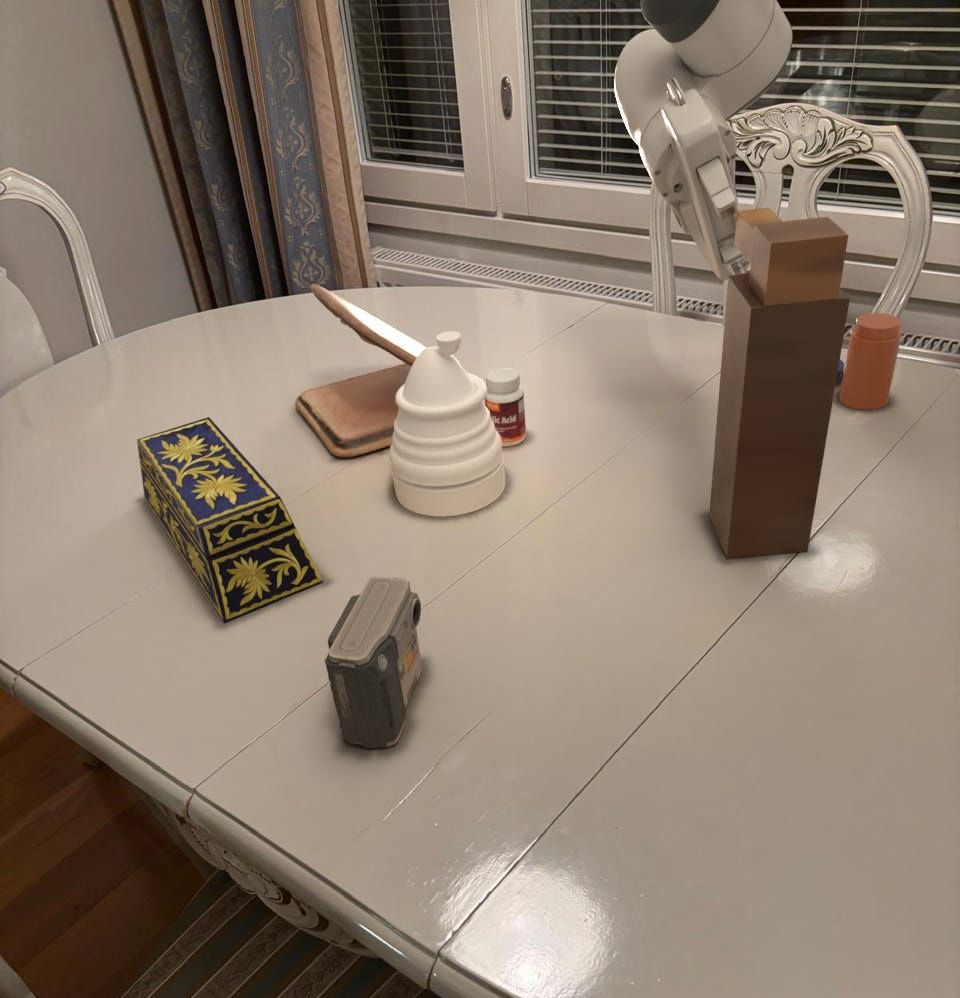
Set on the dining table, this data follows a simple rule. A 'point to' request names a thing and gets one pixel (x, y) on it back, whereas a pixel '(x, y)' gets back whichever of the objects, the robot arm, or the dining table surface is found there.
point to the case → (359, 387)
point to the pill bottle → (506, 405)
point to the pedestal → (772, 419)
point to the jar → (870, 361)
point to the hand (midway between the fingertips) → (737, 245)
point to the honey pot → (445, 437)
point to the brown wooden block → (791, 256)
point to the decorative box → (223, 519)
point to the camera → (375, 661)
